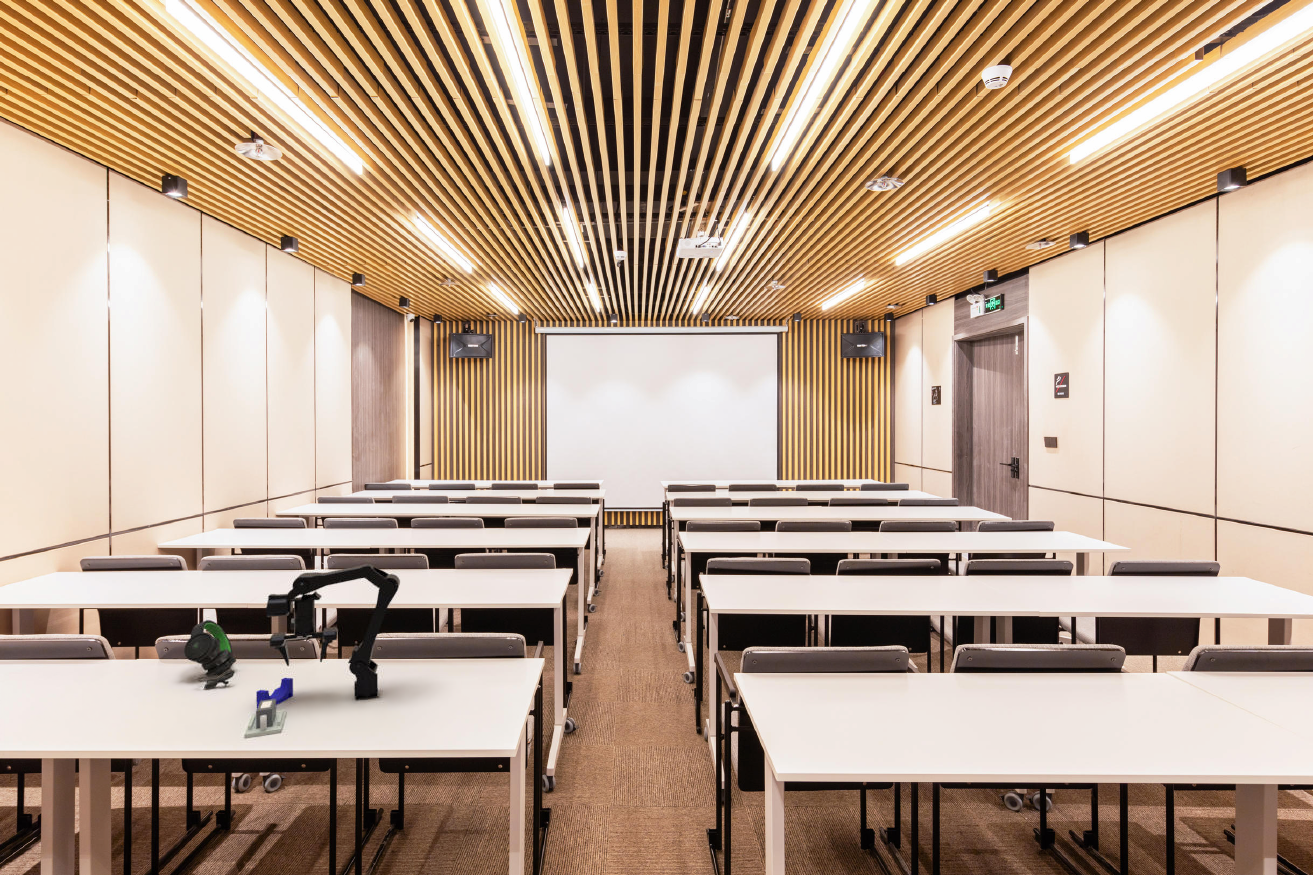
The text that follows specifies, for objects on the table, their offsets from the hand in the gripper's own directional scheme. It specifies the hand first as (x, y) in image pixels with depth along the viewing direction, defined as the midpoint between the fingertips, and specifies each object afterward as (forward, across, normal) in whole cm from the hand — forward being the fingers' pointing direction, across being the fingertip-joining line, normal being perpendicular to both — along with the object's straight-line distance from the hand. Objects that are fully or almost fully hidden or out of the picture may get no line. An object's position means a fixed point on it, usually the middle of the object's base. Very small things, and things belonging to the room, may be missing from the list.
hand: (304, 663), depth 217 cm
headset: (+12, +30, -37) cm, 49 cm away
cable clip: (+12, +9, -3) cm, 16 cm away
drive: (+11, +9, +15) cm, 21 cm away
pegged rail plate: (+12, +9, +15) cm, 21 cm away
